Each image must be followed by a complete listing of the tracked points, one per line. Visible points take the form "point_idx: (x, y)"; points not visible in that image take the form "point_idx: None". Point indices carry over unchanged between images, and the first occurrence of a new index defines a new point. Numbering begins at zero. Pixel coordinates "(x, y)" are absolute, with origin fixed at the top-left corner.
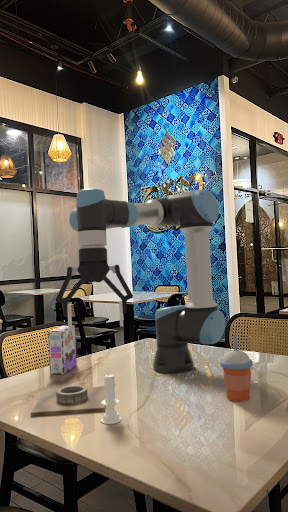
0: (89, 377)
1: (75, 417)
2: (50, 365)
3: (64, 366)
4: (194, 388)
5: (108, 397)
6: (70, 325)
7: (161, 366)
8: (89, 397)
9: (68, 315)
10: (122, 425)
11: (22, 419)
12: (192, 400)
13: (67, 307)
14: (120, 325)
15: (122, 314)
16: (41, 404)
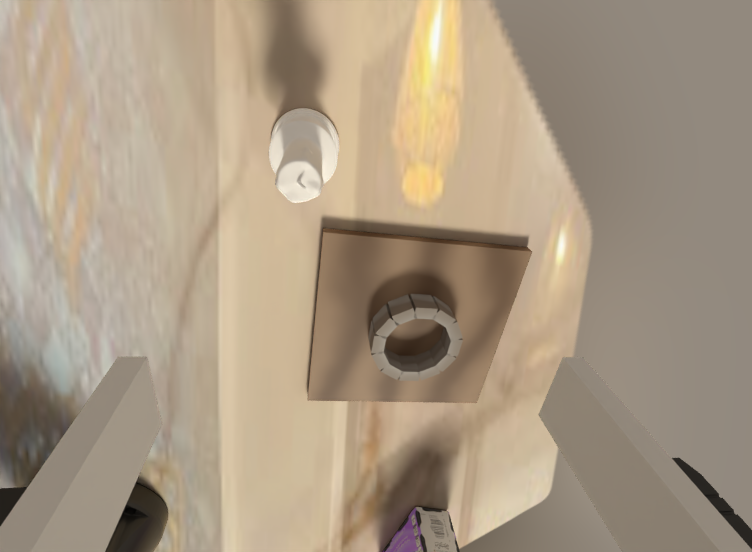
0: (352, 480)
1: (411, 203)
2: (452, 533)
3: (416, 529)
4: (16, 347)
5: (309, 143)
6: (585, 380)
7: (132, 502)
8: (363, 325)
9: (662, 453)
10: (269, 85)
11: (550, 231)
12: (15, 243)
13: (744, 544)
14: (142, 364)
15: (52, 455)
16: (497, 304)
